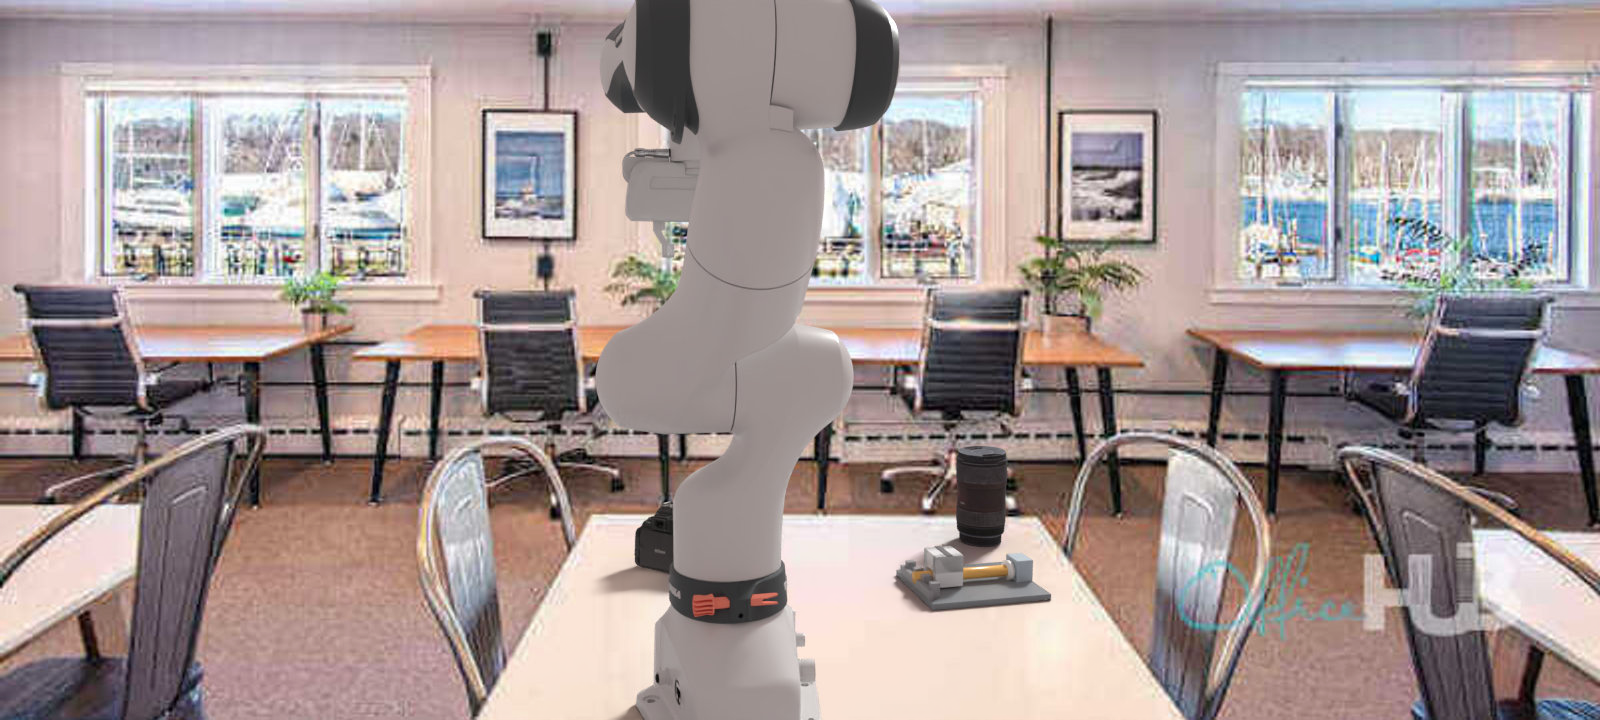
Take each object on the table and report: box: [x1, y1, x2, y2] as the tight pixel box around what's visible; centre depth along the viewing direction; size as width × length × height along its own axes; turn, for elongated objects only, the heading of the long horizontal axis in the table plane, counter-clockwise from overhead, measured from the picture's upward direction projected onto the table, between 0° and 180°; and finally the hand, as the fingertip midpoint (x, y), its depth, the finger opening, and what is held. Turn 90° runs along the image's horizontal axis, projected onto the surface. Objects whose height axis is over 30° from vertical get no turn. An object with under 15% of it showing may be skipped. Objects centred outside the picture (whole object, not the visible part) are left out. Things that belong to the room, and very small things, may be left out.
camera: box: [633, 501, 674, 574], centre depth 138 cm, size 13×10×10 cm
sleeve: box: [923, 545, 965, 588], centre depth 130 cm, size 4×4×4 cm
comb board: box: [895, 552, 1052, 611], centre depth 131 cm, size 14×17×4 cm
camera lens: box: [955, 445, 1008, 547], centre depth 152 cm, size 8×8×15 cm
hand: (704, 258), depth 123 cm, fingers open, 8 cm apart
